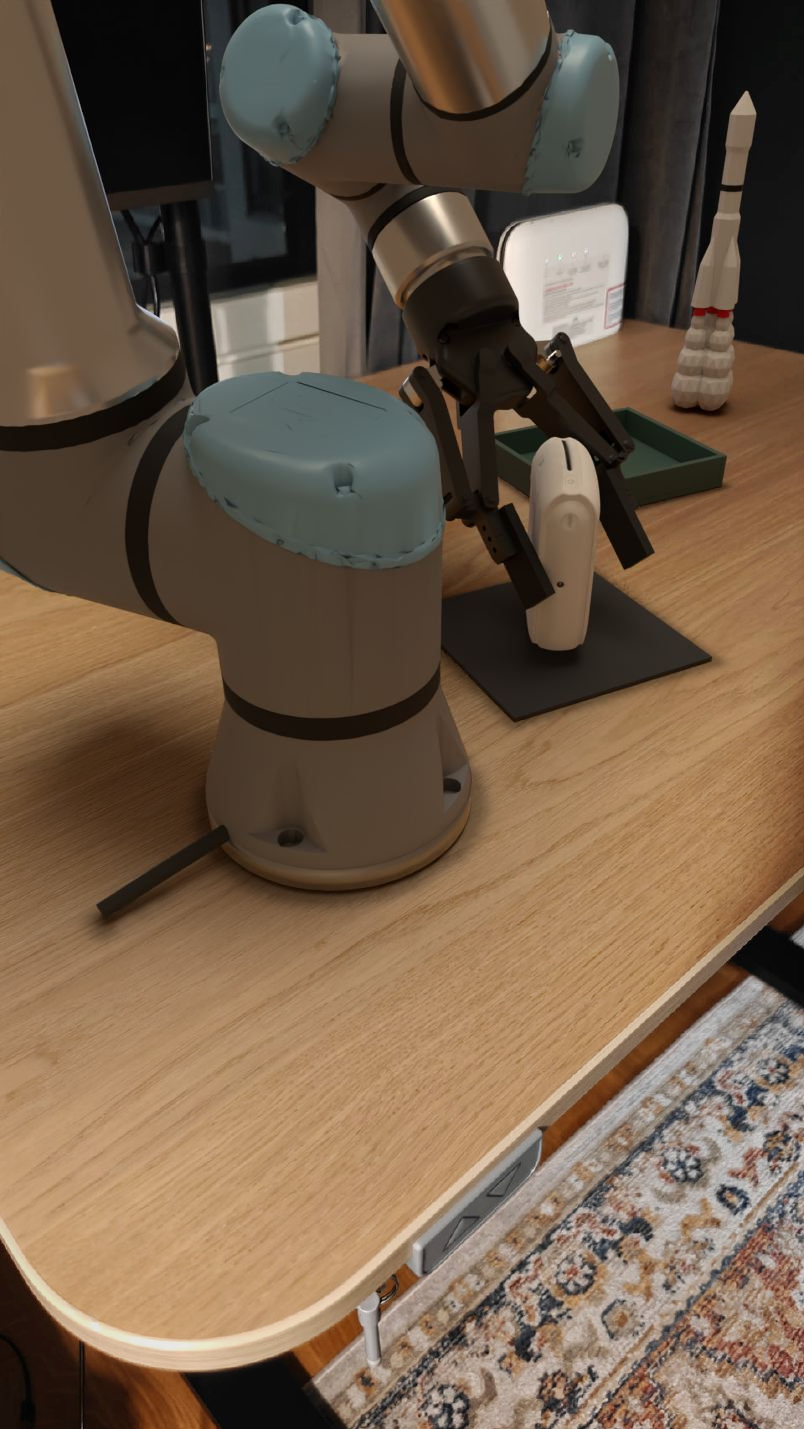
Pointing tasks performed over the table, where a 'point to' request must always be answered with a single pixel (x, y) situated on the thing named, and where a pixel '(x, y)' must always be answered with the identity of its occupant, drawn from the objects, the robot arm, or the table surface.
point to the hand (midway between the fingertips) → (591, 580)
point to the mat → (539, 680)
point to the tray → (628, 459)
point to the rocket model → (717, 283)
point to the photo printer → (563, 540)
